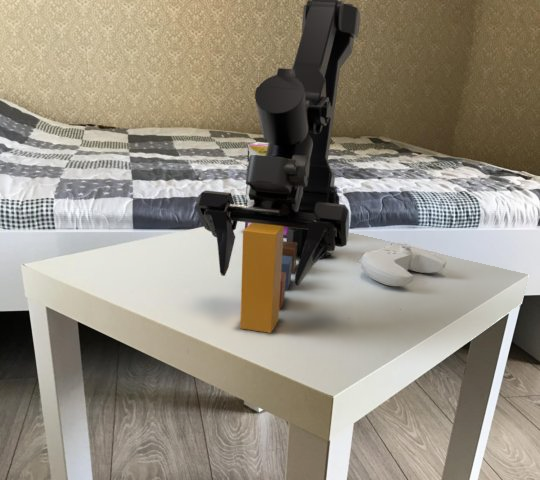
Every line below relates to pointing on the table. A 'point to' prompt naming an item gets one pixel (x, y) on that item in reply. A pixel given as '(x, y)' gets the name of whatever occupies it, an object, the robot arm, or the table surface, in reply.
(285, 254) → the cube
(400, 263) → the game controller
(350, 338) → the table surface
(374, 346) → the table surface
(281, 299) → the cube
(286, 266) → the cube
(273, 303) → the tall block
